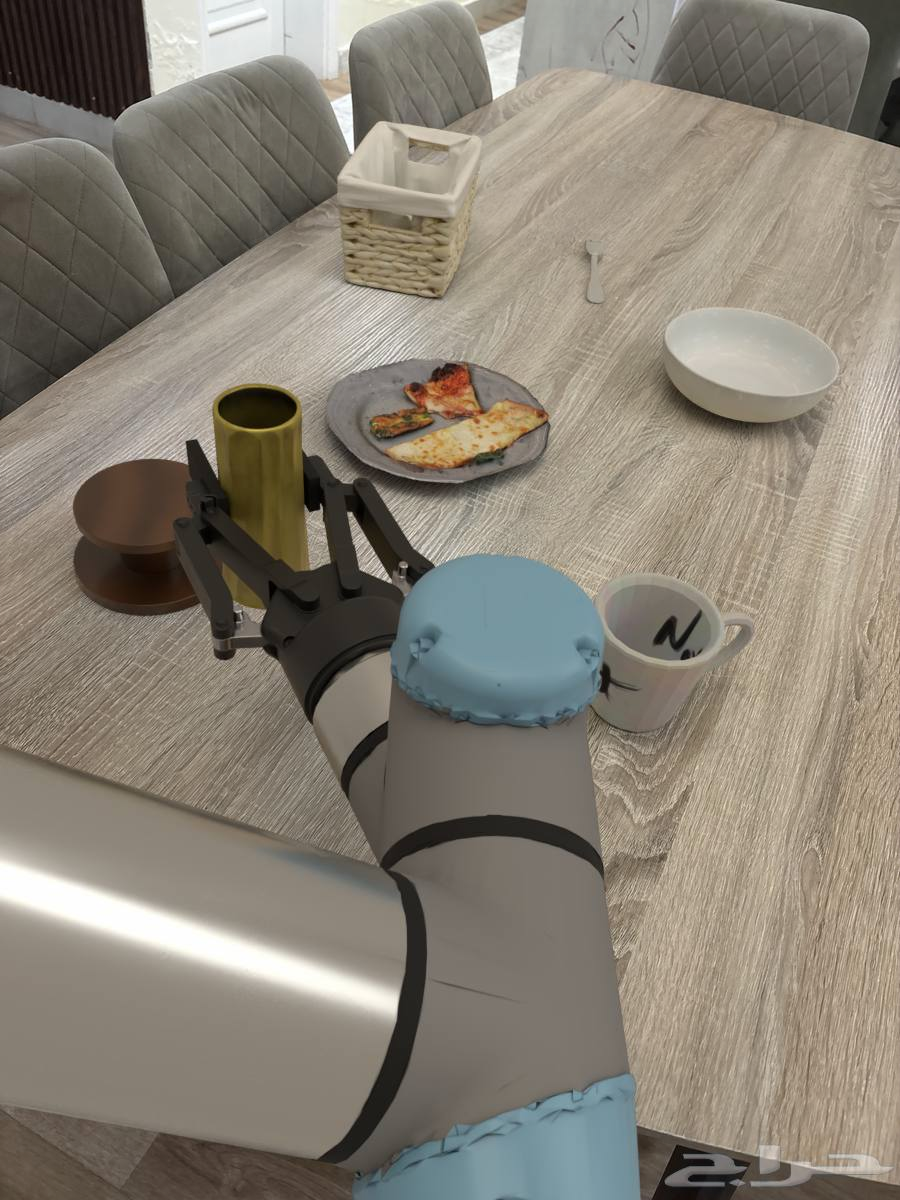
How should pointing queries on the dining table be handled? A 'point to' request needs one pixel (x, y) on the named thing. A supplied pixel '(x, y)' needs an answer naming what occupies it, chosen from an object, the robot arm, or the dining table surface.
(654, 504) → the dining table surface
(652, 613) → the mug
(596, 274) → the fork
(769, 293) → the dining table surface
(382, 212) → the basket
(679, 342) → the serving bowl
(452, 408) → the food plate
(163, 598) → the stand
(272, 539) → the vase
